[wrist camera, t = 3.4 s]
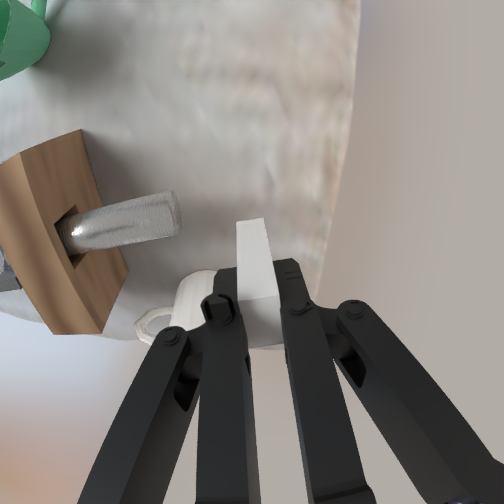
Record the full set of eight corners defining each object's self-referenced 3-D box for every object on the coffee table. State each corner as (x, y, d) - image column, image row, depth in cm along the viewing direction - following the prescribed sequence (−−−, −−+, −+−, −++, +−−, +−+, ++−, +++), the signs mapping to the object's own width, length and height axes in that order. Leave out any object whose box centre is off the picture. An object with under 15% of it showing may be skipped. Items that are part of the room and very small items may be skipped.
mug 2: (146, 260, 32) (123, 318, 23) (246, 274, 33) (251, 336, 25) (148, 309, 36) (131, 367, 27) (235, 321, 37) (237, 381, 29)
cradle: (29, 256, 30) (0, 292, 23) (8, 205, 26) (-29, 235, 19) (52, 250, 30) (21, 288, 23) (29, 196, 26) (-10, 226, 19)
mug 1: (56, 83, 19) (-6, 90, 11) (1, 87, 18) (-56, 100, 9) (95, -33, 12) (50, -62, 4) (32, -18, 10) (-17, -31, 2)
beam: (85, 278, 32) (53, 334, 23) (36, 149, 23) (-24, 180, 14) (128, 271, 32) (101, 333, 23) (80, 129, 23) (19, 152, 14)
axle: (28, 256, 24) (12, 274, 21) (15, 229, 22) (-2, 245, 19) (183, 222, 24) (176, 243, 21) (173, 184, 22) (164, 200, 19)
